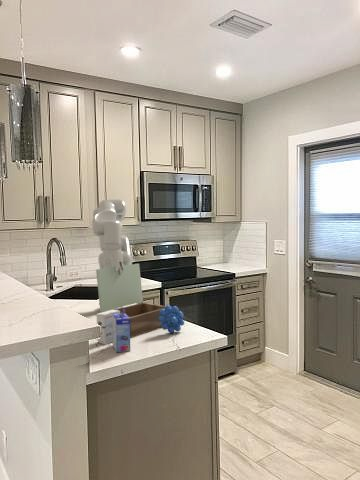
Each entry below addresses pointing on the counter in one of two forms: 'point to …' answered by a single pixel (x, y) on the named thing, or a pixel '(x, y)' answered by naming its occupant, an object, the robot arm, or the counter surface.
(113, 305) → the lid
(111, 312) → the ink box
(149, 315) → the storage box
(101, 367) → the counter surface
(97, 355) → the counter surface
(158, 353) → the counter surface
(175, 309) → the grapes
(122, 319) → the ink cartridge box
